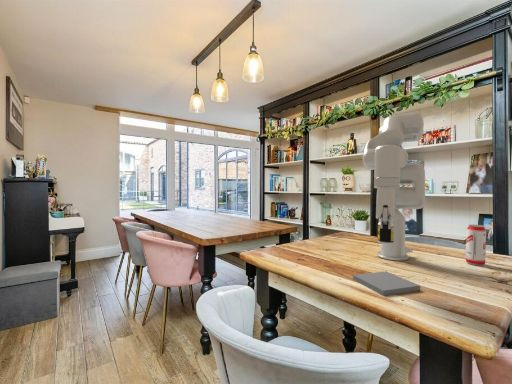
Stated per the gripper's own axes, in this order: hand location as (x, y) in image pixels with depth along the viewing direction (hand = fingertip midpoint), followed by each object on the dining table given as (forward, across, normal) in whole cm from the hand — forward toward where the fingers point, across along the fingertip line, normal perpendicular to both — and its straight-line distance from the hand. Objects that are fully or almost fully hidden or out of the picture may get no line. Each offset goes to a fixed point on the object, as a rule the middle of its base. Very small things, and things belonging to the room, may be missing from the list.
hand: (385, 239), depth 87 cm
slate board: (+15, 0, 0) cm, 15 cm away
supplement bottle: (+1, 0, 0) cm, 1 cm away
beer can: (+15, -43, +32) cm, 56 cm away
